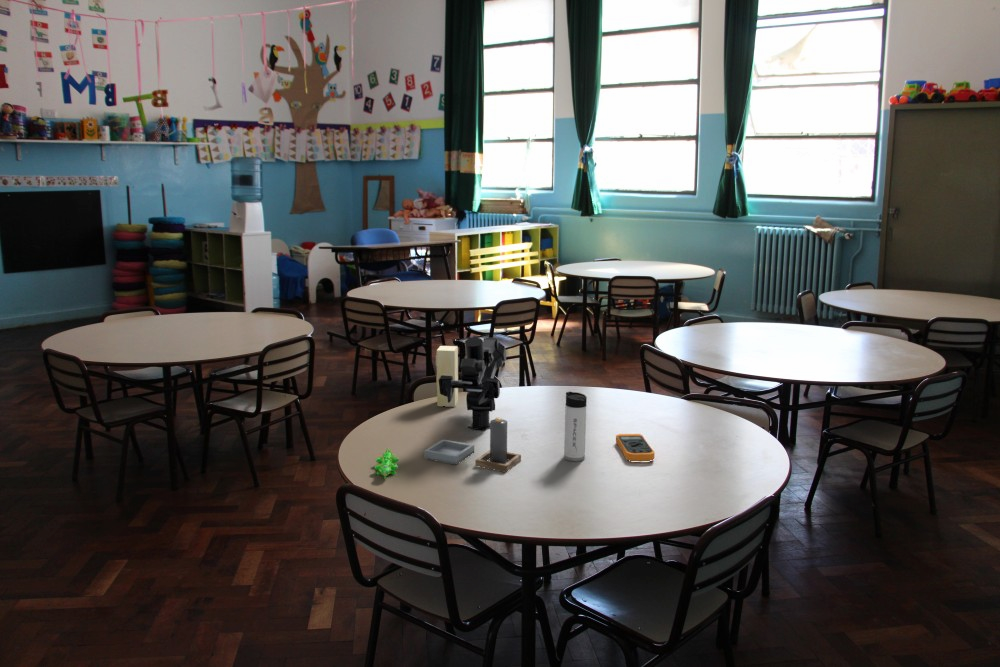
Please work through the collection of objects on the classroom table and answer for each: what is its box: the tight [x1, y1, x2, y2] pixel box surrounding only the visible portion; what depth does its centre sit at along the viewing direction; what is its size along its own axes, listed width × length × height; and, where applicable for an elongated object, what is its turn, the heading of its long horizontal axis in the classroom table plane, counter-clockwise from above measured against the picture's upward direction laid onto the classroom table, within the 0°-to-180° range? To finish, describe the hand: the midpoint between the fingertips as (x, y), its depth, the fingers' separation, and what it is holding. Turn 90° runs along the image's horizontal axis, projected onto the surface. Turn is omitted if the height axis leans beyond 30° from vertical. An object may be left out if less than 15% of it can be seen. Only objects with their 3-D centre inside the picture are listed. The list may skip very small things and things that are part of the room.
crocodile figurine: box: [374, 448, 399, 479], centre depth 227 cm, size 7×18×4 cm, turn 5°
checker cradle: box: [474, 449, 522, 473], centre depth 232 cm, size 10×10×2 cm
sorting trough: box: [423, 439, 475, 465], centre depth 238 cm, size 11×11×2 cm
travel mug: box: [563, 391, 588, 462], centre depth 235 cm, size 6×7×20 cm
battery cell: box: [489, 417, 508, 464], centre depth 230 cm, size 5×5×14 cm
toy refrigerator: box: [435, 345, 459, 408], centre depth 287 cm, size 8×7×21 cm
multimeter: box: [615, 433, 655, 461], centre depth 242 cm, size 9×18×3 cm, turn 4°
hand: (463, 402), depth 236 cm, fingers open, 9 cm apart
